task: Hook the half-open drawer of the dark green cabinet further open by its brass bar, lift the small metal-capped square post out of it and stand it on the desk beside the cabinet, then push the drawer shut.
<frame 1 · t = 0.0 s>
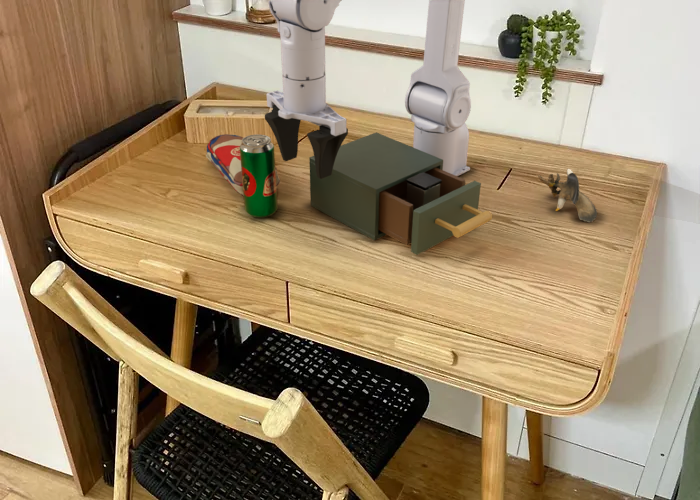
hand: (306, 167, 101), 10 cm above the table, tool pointing down, fingers open, 7 cm apart
eagle figurine: (567, 210, 112), on the table
cabinet: (374, 207, 112), on the table
soda can: (261, 212, 111), on the table
drawer: (426, 207, 103), point 4 cm above the table, slide at 6.5 cm, touching metal-capped square post
metal-capped square post: (421, 219, 105), point 2 cm above the table, touching drawer
pencil case: (242, 177, 121), on the table
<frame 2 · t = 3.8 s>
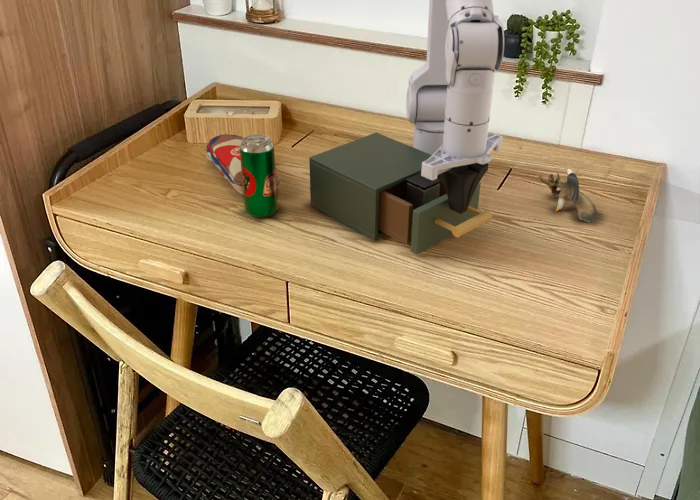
hand: (458, 209, 99), 6 cm above the table, tool pointing down, fingers closed, pressing on drawer
drawer: (426, 207, 103), point 4 cm above the table, slide at 6.4 cm, touching metal-capped square post, gripper
everything else where it was.
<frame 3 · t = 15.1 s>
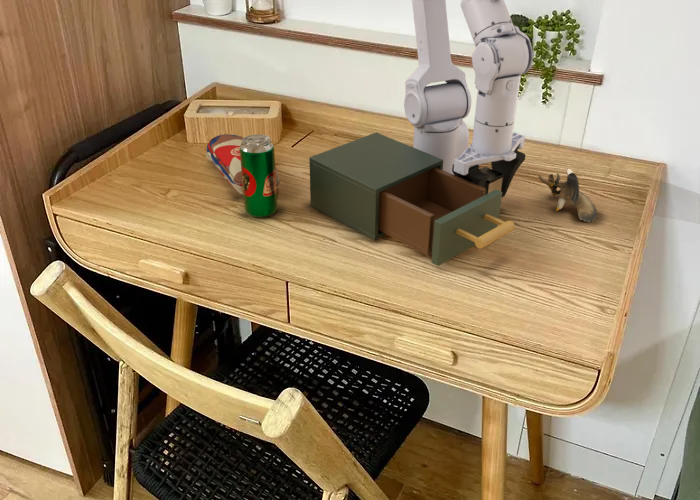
hand: (484, 201, 110), 2 cm above the table, tool pointing down, fingers open, 6 cm apart
drawer: (446, 217, 101), point 4 cm above the table, slide at 10.3 cm, touching gripper
metal-capped square post: (482, 211, 111), on the table
everything else where it was.
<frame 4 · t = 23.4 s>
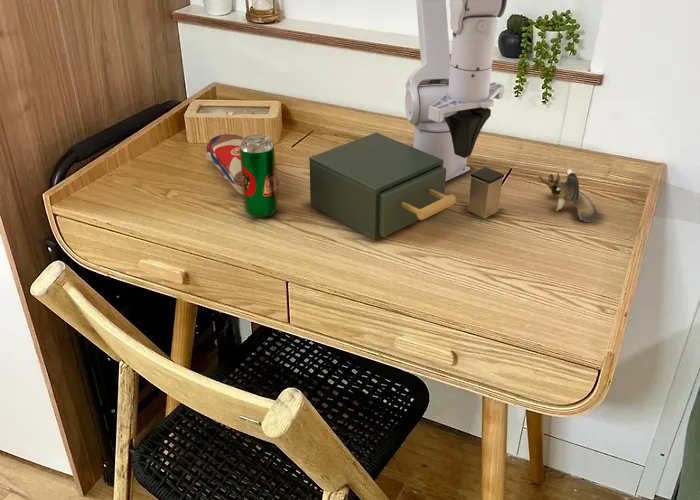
hand: (462, 154, 105), 10 cm above the table, tool pointing down, fingers closed
drawer: (394, 192, 107), point 4 cm above the table, slide at 0.0 cm, touching cabinet
everything else where it was.
at the end: metal-capped square post inside the target area (0.1 cm from its centre), on the table; drawer slide at 0.0 cm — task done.
